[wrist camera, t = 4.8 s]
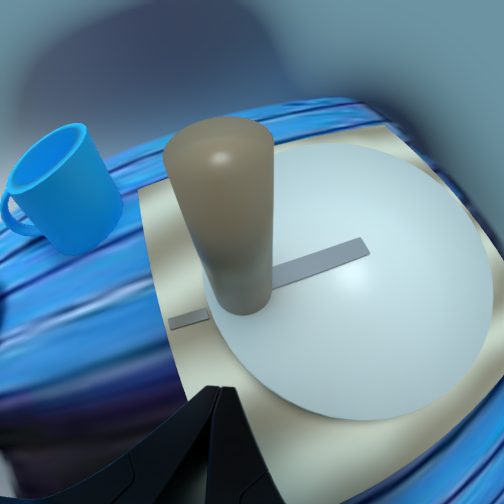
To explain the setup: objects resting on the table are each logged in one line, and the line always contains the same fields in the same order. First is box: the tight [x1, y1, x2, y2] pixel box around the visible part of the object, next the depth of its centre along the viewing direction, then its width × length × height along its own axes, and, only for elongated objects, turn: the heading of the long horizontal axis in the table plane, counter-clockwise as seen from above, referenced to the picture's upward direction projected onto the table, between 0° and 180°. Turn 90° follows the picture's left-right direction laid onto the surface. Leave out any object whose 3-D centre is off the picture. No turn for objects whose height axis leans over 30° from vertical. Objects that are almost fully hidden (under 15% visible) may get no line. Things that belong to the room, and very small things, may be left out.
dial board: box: [138, 125, 504, 504], centre depth 18 cm, size 26×26×2 cm
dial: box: [163, 116, 493, 420], centre depth 12 cm, size 20×20×10 cm
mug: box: [0, 123, 123, 256], centre depth 19 cm, size 12×8×8 cm
